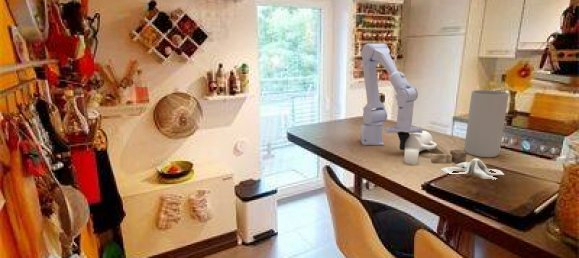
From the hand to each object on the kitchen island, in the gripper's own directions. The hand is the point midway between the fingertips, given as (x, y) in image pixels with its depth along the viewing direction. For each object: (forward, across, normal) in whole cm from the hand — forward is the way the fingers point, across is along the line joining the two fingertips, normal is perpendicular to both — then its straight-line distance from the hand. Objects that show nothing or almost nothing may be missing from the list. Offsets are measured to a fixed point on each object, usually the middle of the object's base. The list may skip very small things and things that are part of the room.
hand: (401, 149), depth 135 cm
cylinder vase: (+2, +32, 0) cm, 32 cm away
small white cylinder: (+2, 0, -11) cm, 11 cm away
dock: (+1, +12, 0) cm, 12 cm away
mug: (+2, +8, +1) cm, 9 cm away
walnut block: (+2, +18, -10) cm, 21 cm away
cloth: (+2, +19, -23) cm, 30 cm away
